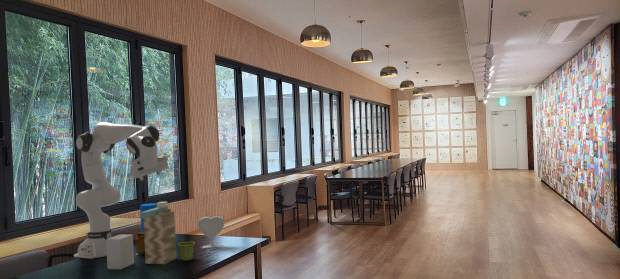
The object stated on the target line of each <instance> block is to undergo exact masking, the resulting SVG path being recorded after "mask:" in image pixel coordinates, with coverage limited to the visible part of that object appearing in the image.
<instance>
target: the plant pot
mask: <svg viewBox="0 0 620 279" xmlns="http://www.w3.org/2000/svg"><path fill="white" fill-rule="evenodd" d="M195 244H196V242H195V241H182V242H178V243H176V246H178V250H179V254H180V260H181V261H190V260H192V259H193V258H194V250H195V249H194V248H195Z"/></svg>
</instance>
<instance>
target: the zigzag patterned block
mask: <svg viewBox="0 0 620 279" xmlns="http://www.w3.org/2000/svg"><path fill="white" fill-rule="evenodd" d="M171 210H172V209H171V208H168V209H167V210H164V211H160V212H158V215H155V216H152V217H149V218H143V219H144V241H145V254H144V257H145V259H144V260H145V264H150V265H167V264H169V263H171V262H172V261H174V260H177V240H176V238H177V237H176V222H175V221H176V220H175V217H176V216H175V211H171Z"/></svg>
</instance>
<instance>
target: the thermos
mask: <svg viewBox="0 0 620 279" xmlns="http://www.w3.org/2000/svg"><path fill="white" fill-rule="evenodd" d="M157 203H158V202H155V203H153V202H151V203H144V204H140V206H139V209H140V211H139V213H140V212H143V211H147V210H150V209H154V208H157ZM140 229H141V230H140V232H144V219H143V218H140Z"/></svg>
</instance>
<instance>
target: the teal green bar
mask: <svg viewBox="0 0 620 279" xmlns="http://www.w3.org/2000/svg"><path fill="white" fill-rule="evenodd" d="M156 203H157V208H154V209H150V210H147V211H143V212H140V211H139V218H140V219H141V218H149V217H152V216H155V215H158V212H160V211H164V210H167V209H169V204H168V201H159V202H156Z"/></svg>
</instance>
